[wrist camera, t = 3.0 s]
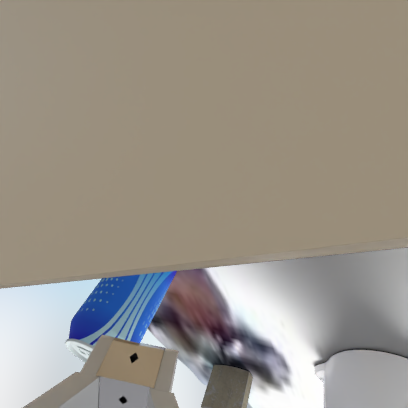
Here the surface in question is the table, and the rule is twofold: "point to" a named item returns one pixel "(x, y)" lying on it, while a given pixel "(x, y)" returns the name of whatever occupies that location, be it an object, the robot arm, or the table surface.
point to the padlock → (227, 388)
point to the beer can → (117, 310)
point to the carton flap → (198, 134)
